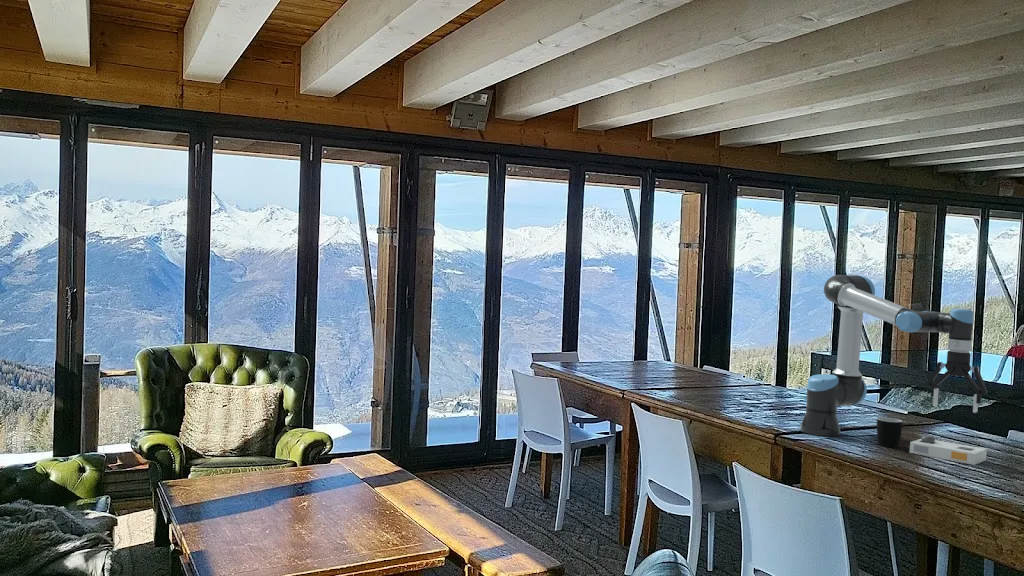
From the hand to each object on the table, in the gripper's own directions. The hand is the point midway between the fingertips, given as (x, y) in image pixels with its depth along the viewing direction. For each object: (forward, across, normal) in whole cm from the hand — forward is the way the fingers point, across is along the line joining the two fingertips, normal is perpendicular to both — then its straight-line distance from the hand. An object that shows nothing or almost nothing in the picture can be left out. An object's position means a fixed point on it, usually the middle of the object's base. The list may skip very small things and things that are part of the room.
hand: (954, 409), depth 308 cm
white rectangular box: (+18, -1, 0) cm, 18 cm away
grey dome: (+17, +5, 0) cm, 17 cm away
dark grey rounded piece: (+15, -8, 0) cm, 17 cm away
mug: (+18, -23, 0) cm, 29 cm away
